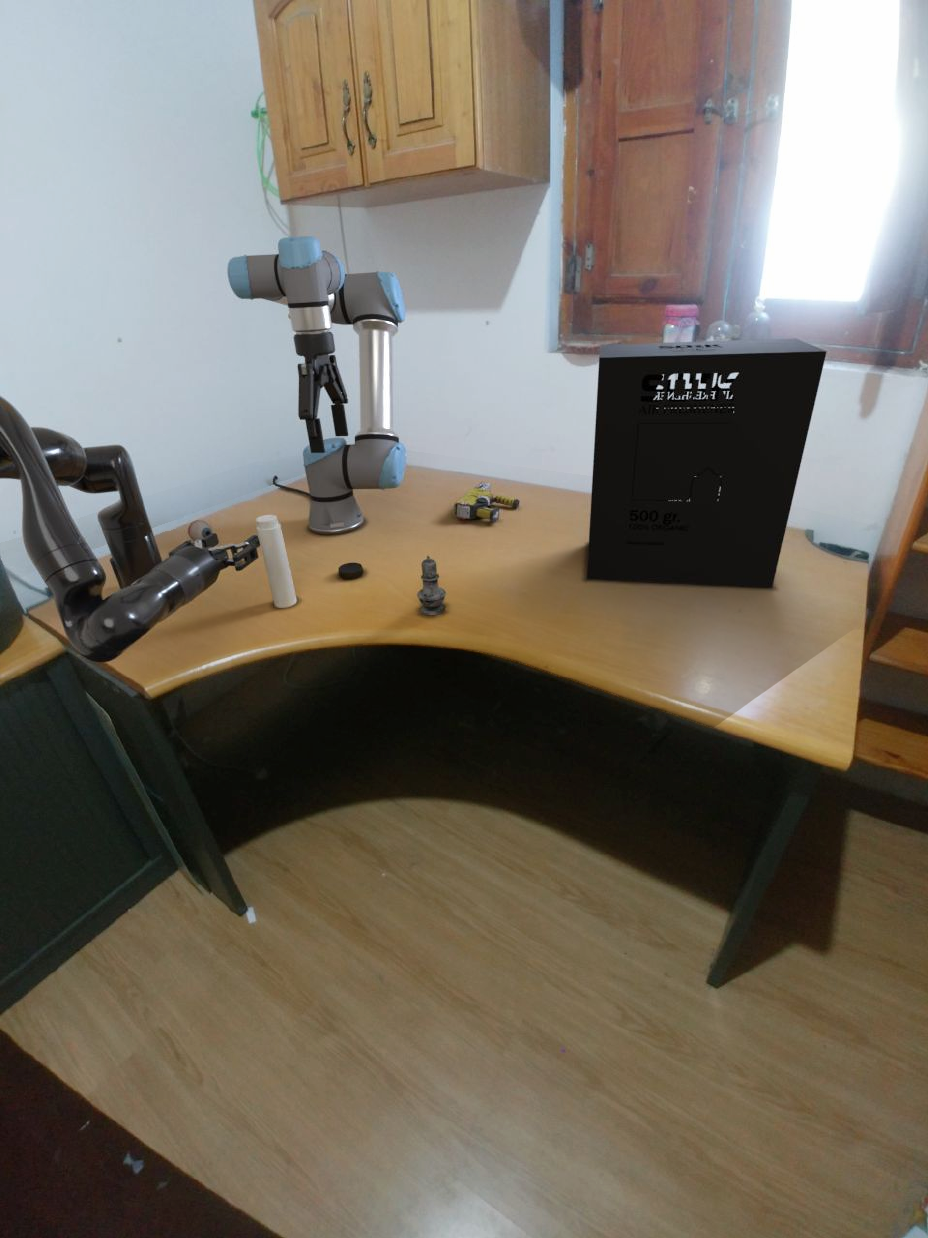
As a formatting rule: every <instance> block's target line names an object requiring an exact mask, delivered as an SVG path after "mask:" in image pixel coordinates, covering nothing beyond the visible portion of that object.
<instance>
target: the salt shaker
mask: <svg viewBox="0 0 928 1238" xmlns="http://www.w3.org/2000/svg"><path fill="white" fill-rule="evenodd" d="M437 570H438V569H437V562H436V560H434V559H432V558H431V557H430V555H427V556H426V559H424V560H423V561H422V562H421V572H422V573H421V576H420V579H421V580H422V588H421V589H419V590H418V592H417V594H416V597H417V598H418V600H419V602H420V604H421V606H420V607H419V612H420V613H421V614H423V615H427V616H436V615H440V614H442V613H443V612H445V611H446V605H445V604H444V603H443V602H444V600H445V596H446V595H447V591H446V590H445V589H444V588H442V587H439V578H440V575H439V573H438V571H437Z"/></svg>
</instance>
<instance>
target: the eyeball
mask: <svg viewBox="0 0 928 1238" xmlns="http://www.w3.org/2000/svg"><path fill="white" fill-rule="evenodd" d="M211 533H213V527H212V526H211V524H210V523H209V522H207V521H205V520H201V519H197V520H193V521H192V522H191V523H190V524H189V525H188V527H187V534H188V537H189V538H190V539H191V540H192V541H193V542H195V541H196V540H202V539H203V538H205V537H207V536H208V535H210V534H211Z"/></svg>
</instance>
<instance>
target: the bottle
mask: <svg viewBox="0 0 928 1238" xmlns="http://www.w3.org/2000/svg"><path fill="white" fill-rule="evenodd" d="M255 522H256V524H257V525H256V527H255V529H256V532H257V533H256V534H257V536H258V538H259V541H260V546H259V547H260V549H261V554H262V558H263V563H264V567H265V571H266V575H267V579H268V583H269V588H270V592H271V595H272V600H273V604H274V607H276V608H279V609H287V608H290V607H292V606H294V605H296V603H297V602H298V599H297V596H296V595H297V594H296V590H295V586H294V585H295V584H294V582H293V576H292V572H291V567H290V563H289V558H288V554H287V548H286V544H285V540H284V535H283V530H282V526H281V523H280V522H279V519H278V516H277V515H275V514H263V515H261V516H258V517H257V518H256V519H255Z"/></svg>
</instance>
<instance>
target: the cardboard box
mask: <svg viewBox="0 0 928 1238" xmlns="http://www.w3.org/2000/svg"><path fill="white" fill-rule="evenodd" d="M827 352H828V351H827V350H824V349H822V348H820V347H818V346H815V345H813V344H811V343H808V342H806V341H802V340H801V339H799V338H768V339H766V338H765V339H737V340H736V339H735V340H709V341H708V340H707V341H705V340H703V341H675V342H672V341H671V342H648V343H647V342H646V343H645V342H644V343H643V342H642V343H616V344H615V343H614V344H612V343H611V344H600V348H599V355H598V356H599V358H598V370H597V371H598V372H597V390H596V391H597V392H596V409H595V410H596V411H595V426H594V445H593V459H592V460H593V461H592V462H593V463H592V479H591V497H590V515H589V532H588V533H589V535H588V547H587V548H588V549H587V568H586V580H588V581H611V582H635V583H655V584H657V583H658V584H675V585H676V584H679V585H698V586H699V585H703V586H725V587H743V588H744V587H745V588H746V587H747V588H768V589H773V586H774V582H775V578H776V573H777V569H778V565H779V560H780V555H781V550H782V548H783V543H784V540H785V539H784V538H785V534H786V530H787V525H788V521H789V517H790V513H791V512H790V511H791V509H792V504H793V499H794V496H795V490H796V486H797V483H798V477H799V474H800V469H801V465H802V461H803V456H804V451H805V447H806V444H807V443H806V442H807V439H808V434H809V429H810V425H811V421H812V416H813V412H814V408H815V404H816V400H817V395H818V391H819V387H820V382H821V378H822V373H823V368H824V365H825V360H826V356H827ZM685 374H689V378H688V385H690V388H686V384H687V379H685V378H684V375H685ZM699 374H700V379H699V378H697V375H699ZM715 374H716V380H715V384H714V386H713V383H714V378H715ZM731 374H736V376H735V378H729V377H730V376H731ZM672 375H677V378H676V379H675V380H674V384H673V385H674V387H673V388H671V385H672V379H671V378H670V377H671V376H672ZM719 379H720V381H719ZM700 384H701V385H705V387H704V388H699V385H700ZM719 384H720V385H724V384H729V387H720V386H719ZM659 386H661V387H662V388H658V387H659Z"/></svg>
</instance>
